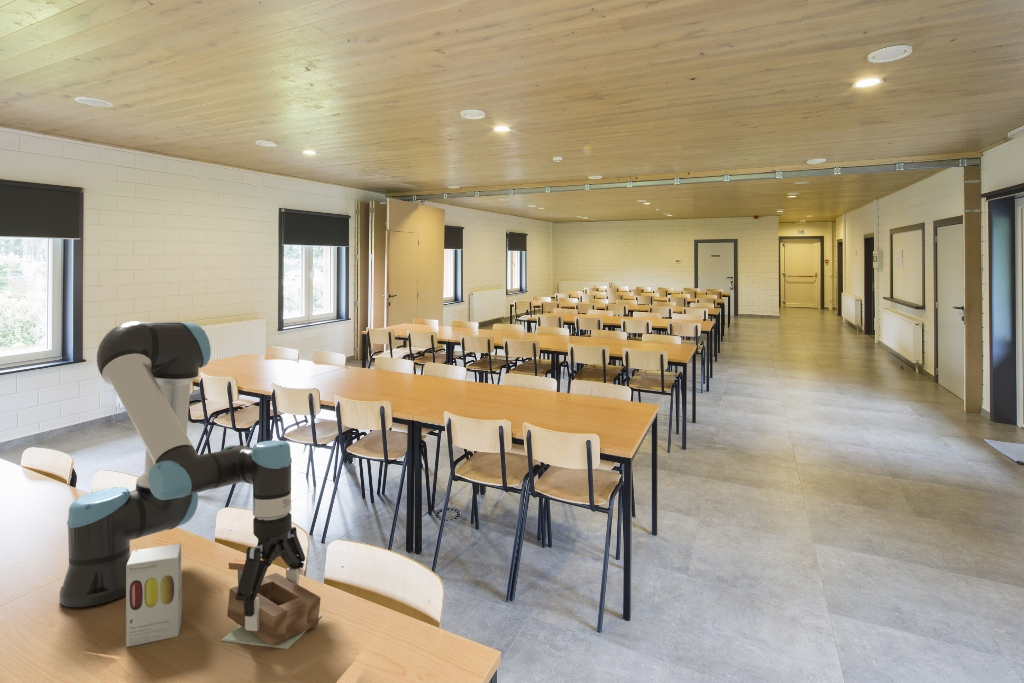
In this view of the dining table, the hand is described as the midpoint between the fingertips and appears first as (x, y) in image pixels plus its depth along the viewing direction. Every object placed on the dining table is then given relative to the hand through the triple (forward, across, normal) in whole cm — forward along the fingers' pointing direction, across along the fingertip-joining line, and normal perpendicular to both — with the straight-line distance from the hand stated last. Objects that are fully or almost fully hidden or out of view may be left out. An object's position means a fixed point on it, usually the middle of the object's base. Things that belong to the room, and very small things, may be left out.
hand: (273, 613), depth 119 cm
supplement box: (+4, -6, +24) cm, 25 cm away
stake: (+3, +8, +13) cm, 16 cm away
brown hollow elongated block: (+2, 0, 0) cm, 2 cm away
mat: (+3, 0, 0) cm, 3 cm away
